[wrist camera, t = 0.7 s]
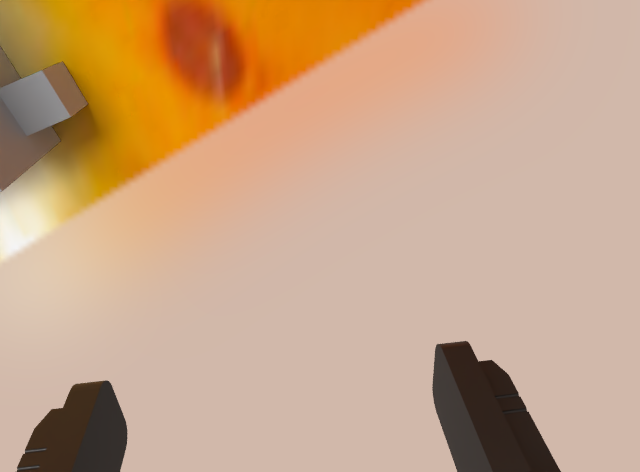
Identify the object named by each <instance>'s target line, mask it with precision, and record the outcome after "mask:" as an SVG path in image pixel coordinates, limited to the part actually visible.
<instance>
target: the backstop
mask: <svg viewBox="0 0 640 472" xmlns="http://www.w3.org/2000/svg"><path fill="white" fill-rule="evenodd" d="M86 105H88V103H87V101H86V100H85V98H84V96H83V95H82V93H81V91H80V90H79V88H78V86H77V85H76V83H75V81H74V80H73V78H72V76H71V75H70V73H69V71H68V70H67V68H66V66H65V65H64V63H63V62H60V63H58V64H55V65H53V66H50V67H48V68H46V69H43V70H41V71H39V72H36V73H34V74H32V75H29V76H27V77H25V78H22V79H21V78H20V76H19V75H18V73H17V72H16V70H15V68H14V67H13V65H12V64H11V62H10V61H9V59H8V58H7V56H6V54H5V53H4V51H3V50H2V48H1V47H0V192H1V191H3V190H4V189H5V188H6V187H8V186H9V185H10V184H11V183H12V182H13V181H15V180H16V179H17V178H18V177H19V176H21V175H22V174H23V173H24V172H25V171H26V170H28V169H29V168H30V167H31V166H32V165H33V164H35V163H36V162H37V161H38V160H39V159H41V158H42V157H43V156H44V155H45V154H46V153H48V152H49V151H50V150H51V149H52V148H53V147H55V146H56V145H57V144H58V143H59V142H61V140H60V139H59V137H58V135H57V134H56V132H55V131H54V129H53V128H52V125H54V124H56V123H59V122H61V121H63V120H65V119H68V118H70V117H72V116H73V115H74V114H76V113H77V112H78V111H80V110H81V109H82V108H84V107H85V106H86Z"/></svg>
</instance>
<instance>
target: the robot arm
mask: <svg viewBox="0 0 640 472" xmlns="http://www.w3.org/2000/svg"><path fill="white" fill-rule="evenodd" d="M433 375H434V376H433V397H434V404H435V408H436V412H437V414H438V417H439V420H440V423H441V426H442V429H443V432H444V435H445V437H446V440H447V443H448V446H449V449H450V451H451V454H452V457H453V460H454V463H455V466H456V469H457V472H561V471H560V469H559V468H558V466H557V464H556V462H555V460H554V459H553V457H552V455H551V453H550V451H549V449H548V447H547V446H546V444H545V442H544V440H543V438H542V436H541V434H540V433H539V431H538V429H537V427H536V425H535V423H534V421H533V420H532V418H531V416H530V414H529V412H527V410H526V406H525V405H524V403H523V401H522V399H521V397H519V395H518V391H517V390H516V388H515V386H514V384H513V382H512V380H511V378H510V377H509V375H508V374H507V373H506V372H505V371H504V370H503V369H501V368H500V367H499V366H498V365H497V364H496V363H495V362H493V361H492V360H488V361H479V362H478V360H477V358H476V356H475V354H474V352H473V350H472V348H471V346H470V344H469V343H468V342H467V341H463V342H455V343H445V344H437V345H436V349H435V362H434V374H433ZM126 445H127V426H126V421H125V418H124V416H123V413H122V411H121V408H120V406H119V403H118V400H117V398H116V395H115V393H114V390H113V388H112V385H111V383H110V382H109V381H99V382H90V383H81V384H75V385H74V386H73V387H72V388H71V390H70V392H69V394H68V397H67V399H66V402H65V404H64V407H63V408H59V409H52V410H51V411H50V412H49V413H48V414H47V415H46V416H45V418H44V419H43V420H42V421H41V422H40V423H39V424H38V425H37V426H36V428H35V429H34V431H33V433H32V435H31V438H30V440H29V442H28V445H27V447H26V449H25V454H23V456H22V458H21V460H20V462H19V465H18V467H17V468H18V470H17V472H120V469H121V465H122V461H123V458H124V453H125V450H126Z"/></svg>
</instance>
